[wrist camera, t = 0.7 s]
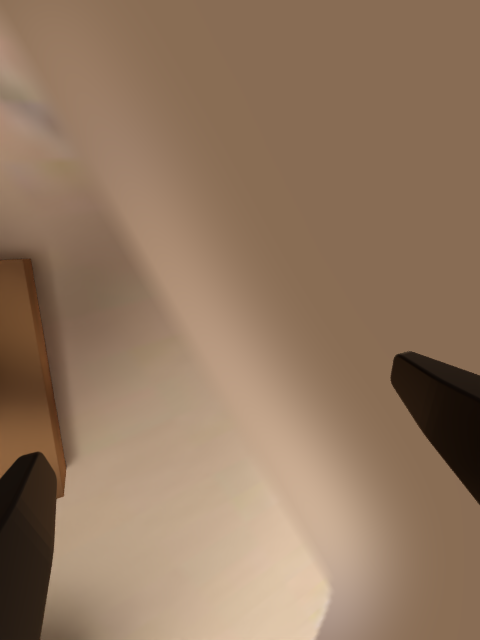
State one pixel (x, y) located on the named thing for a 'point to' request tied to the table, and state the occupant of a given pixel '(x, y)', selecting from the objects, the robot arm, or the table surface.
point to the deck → (25, 375)
